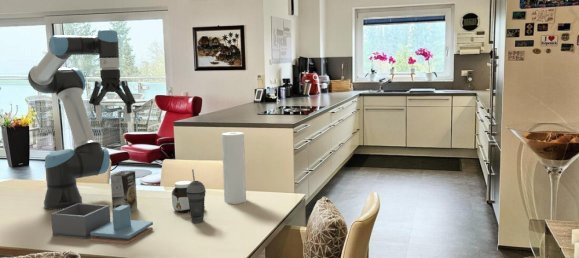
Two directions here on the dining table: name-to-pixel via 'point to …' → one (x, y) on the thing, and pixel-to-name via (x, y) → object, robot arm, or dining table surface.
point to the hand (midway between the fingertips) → (113, 121)
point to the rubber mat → (121, 239)
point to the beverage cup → (196, 200)
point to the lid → (121, 225)
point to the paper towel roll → (234, 167)
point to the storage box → (79, 220)
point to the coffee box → (124, 189)
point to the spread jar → (181, 197)
